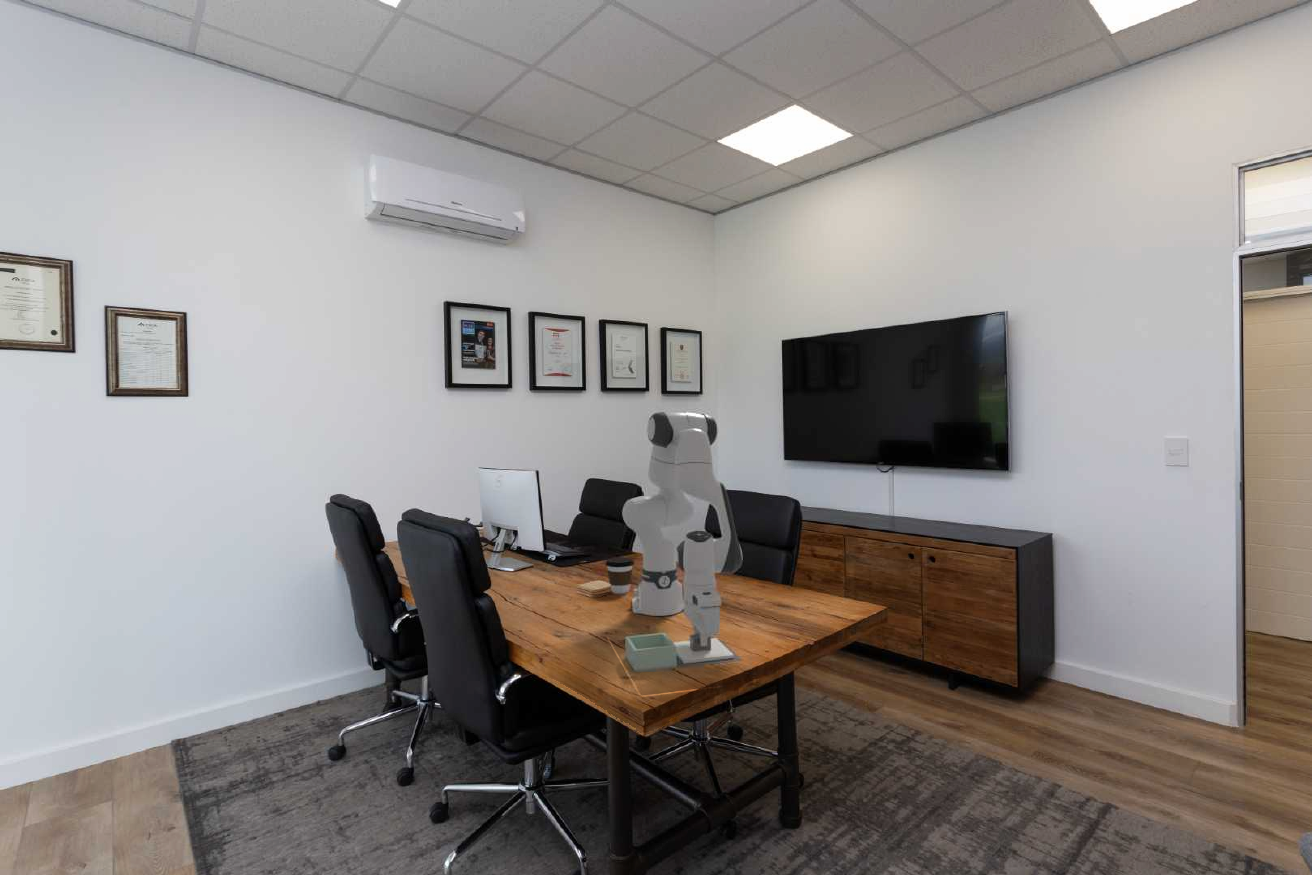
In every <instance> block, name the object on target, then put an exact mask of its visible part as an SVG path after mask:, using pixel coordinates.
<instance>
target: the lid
mask: <svg viewBox="0 0 1312 875" xmlns="http://www.w3.org/2000/svg"><path fill="white" fill-rule="evenodd" d="M699 638H700V634H696V635H694V634H690V635H689V640H684V641H683V640H682V641H672V642H673V643H674V644H675V645H676V655H677V656H678V657H679V659H680V660H681V661H682V662H683V664H685V663H694V662H703V661H711V660H720V659H729V658H734V654H733V653H731V652H730V651H729V650H728V649H727V648H726V647H725V646H724V645H723V644H722V643H721V642H720V641H719V639H718V638H717V637H713V638H712V637H708V638H707V645H706V646H701V645H700V644H699Z"/></svg>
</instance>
